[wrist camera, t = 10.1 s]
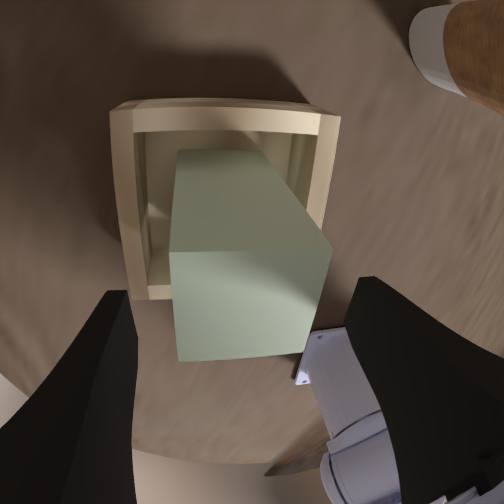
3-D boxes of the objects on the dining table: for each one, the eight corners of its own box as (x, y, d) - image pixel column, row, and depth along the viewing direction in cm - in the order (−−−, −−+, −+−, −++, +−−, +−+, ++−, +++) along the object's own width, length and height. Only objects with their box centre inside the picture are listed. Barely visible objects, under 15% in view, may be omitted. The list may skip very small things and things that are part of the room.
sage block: (260, 150, 17) (333, 248, 9) (253, 222, 19) (303, 352, 11) (178, 149, 16) (168, 252, 8) (178, 223, 19) (178, 361, 10)
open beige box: (310, 104, 16) (340, 116, 13) (289, 253, 22) (307, 291, 18) (127, 100, 14) (109, 111, 11) (139, 259, 20) (132, 300, 17)
